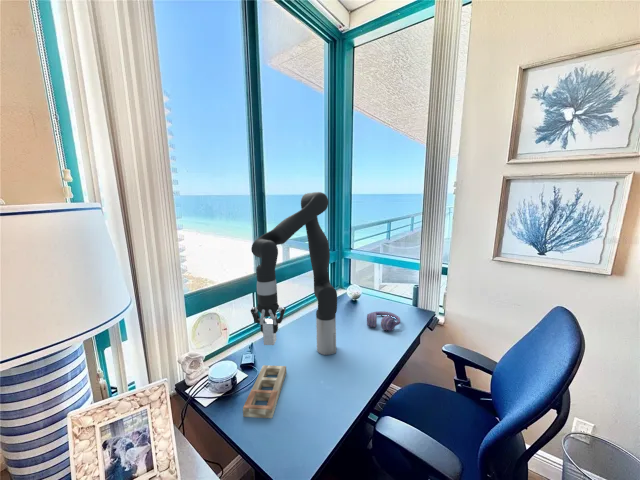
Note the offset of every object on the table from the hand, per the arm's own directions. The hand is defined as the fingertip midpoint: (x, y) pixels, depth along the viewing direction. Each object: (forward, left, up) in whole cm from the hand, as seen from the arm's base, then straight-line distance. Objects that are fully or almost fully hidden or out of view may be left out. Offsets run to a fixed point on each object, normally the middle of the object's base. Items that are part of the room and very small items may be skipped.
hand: (269, 332), depth 102 cm
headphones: (-52, -49, -21) cm, 75 cm away
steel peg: (0, 0, -4) cm, 4 cm away
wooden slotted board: (0, +7, -21) cm, 22 cm away
